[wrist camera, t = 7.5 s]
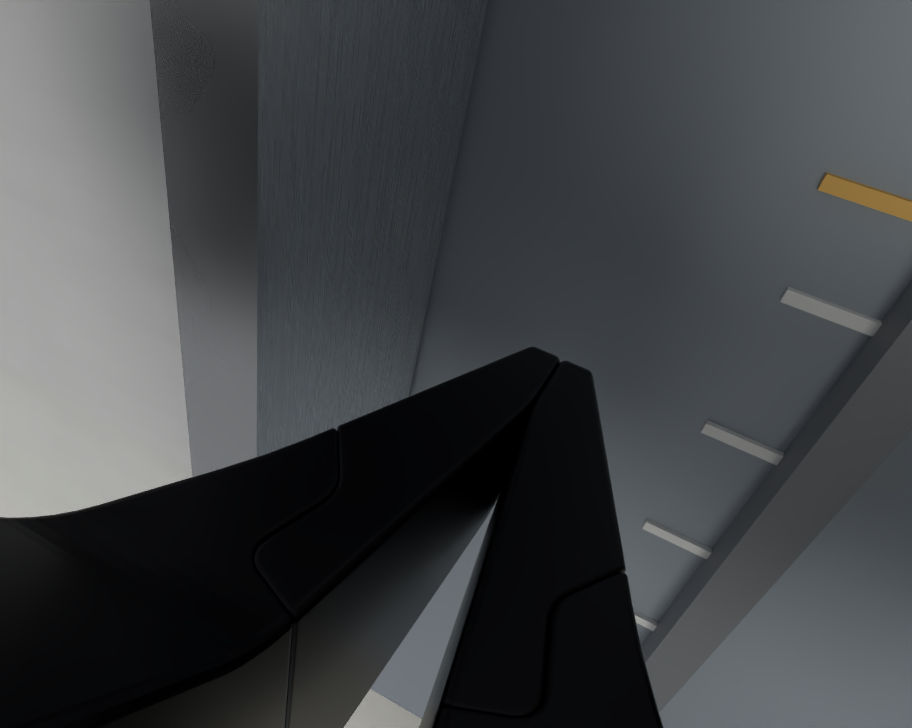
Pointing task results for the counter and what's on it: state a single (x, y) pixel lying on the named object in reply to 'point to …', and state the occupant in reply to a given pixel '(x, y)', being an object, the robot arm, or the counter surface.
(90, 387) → the counter surface
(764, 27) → the console
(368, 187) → the rack door
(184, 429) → the counter surface
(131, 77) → the counter surface
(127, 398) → the counter surface
